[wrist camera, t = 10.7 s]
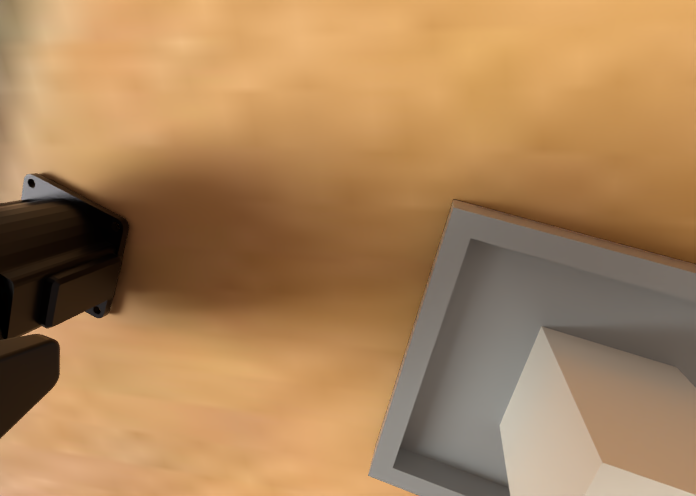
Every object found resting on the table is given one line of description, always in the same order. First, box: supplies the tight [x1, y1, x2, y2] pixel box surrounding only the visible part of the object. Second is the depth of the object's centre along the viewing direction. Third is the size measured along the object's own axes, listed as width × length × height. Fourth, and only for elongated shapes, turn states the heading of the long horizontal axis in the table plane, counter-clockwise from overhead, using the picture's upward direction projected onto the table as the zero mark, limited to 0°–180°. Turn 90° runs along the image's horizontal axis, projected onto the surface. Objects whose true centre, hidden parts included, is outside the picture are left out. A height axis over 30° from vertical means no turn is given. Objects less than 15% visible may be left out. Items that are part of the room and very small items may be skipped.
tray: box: [368, 199, 696, 496], centre depth 18 cm, size 16×14×2 cm
